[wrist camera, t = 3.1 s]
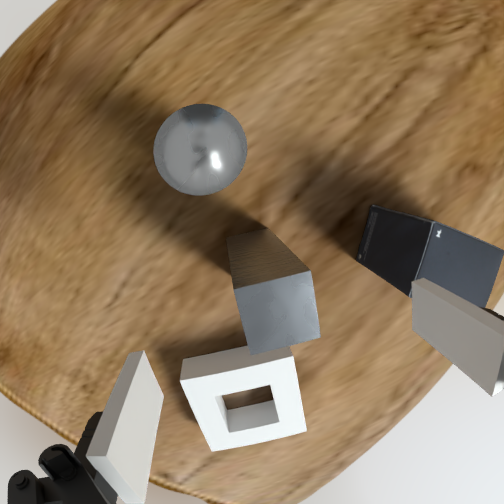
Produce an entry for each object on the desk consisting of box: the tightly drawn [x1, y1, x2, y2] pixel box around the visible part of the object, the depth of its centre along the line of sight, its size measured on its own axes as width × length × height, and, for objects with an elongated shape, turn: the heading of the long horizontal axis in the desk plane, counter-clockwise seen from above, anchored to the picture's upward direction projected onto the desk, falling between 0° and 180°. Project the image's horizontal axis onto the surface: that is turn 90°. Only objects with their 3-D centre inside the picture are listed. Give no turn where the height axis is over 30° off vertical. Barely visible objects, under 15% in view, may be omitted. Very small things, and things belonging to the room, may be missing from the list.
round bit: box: [154, 104, 247, 195], centre depth 21 cm, size 4×4×14 cm
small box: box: [356, 204, 504, 308], centre depth 26 cm, size 11×6×10 cm, turn 76°
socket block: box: [180, 345, 307, 451], centre depth 31 cm, size 11×11×4 cm
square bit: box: [226, 228, 321, 355], centre depth 23 cm, size 4×4×14 cm
